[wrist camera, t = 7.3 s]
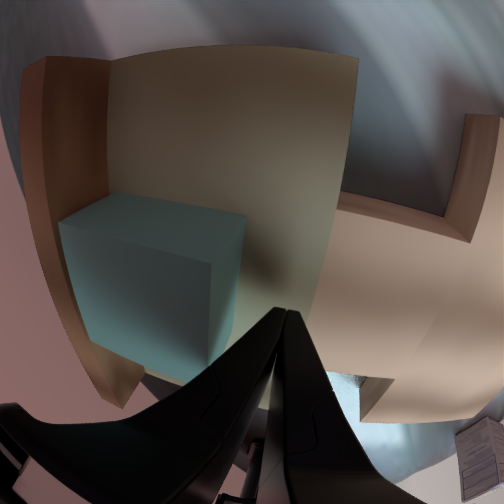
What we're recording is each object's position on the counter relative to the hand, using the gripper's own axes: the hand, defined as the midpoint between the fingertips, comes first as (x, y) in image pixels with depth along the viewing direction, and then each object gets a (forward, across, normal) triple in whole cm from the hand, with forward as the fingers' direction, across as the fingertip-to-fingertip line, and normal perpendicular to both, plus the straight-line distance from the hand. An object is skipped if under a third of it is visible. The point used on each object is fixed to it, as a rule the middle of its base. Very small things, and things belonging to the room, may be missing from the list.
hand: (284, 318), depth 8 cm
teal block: (+1, +4, 0) cm, 4 cm away
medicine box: (+4, -25, +16) cm, 30 cm away
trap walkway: (+4, -3, 0) cm, 5 cm away
